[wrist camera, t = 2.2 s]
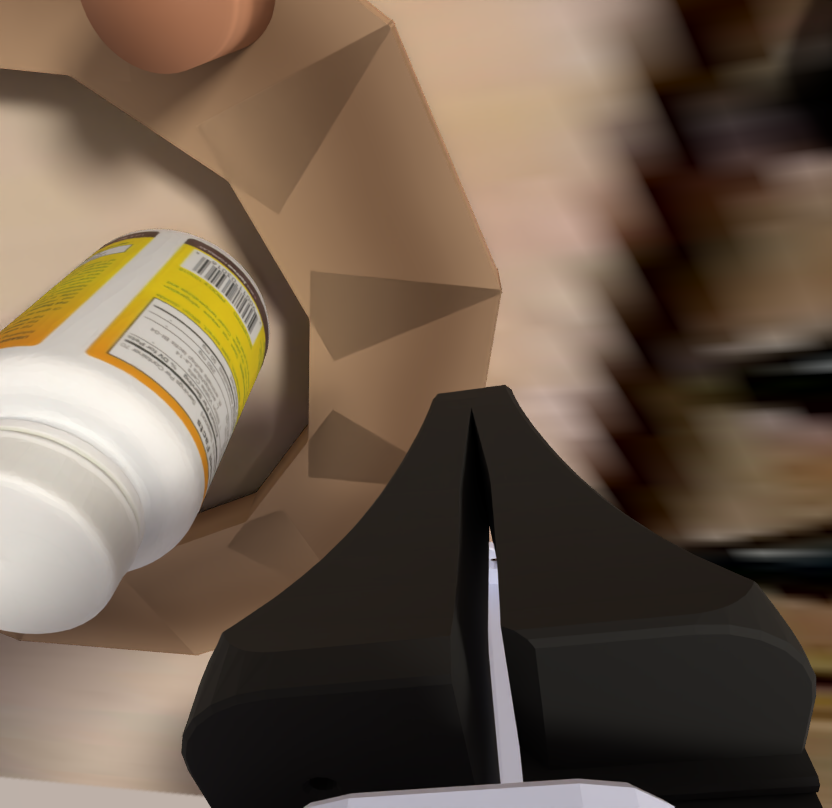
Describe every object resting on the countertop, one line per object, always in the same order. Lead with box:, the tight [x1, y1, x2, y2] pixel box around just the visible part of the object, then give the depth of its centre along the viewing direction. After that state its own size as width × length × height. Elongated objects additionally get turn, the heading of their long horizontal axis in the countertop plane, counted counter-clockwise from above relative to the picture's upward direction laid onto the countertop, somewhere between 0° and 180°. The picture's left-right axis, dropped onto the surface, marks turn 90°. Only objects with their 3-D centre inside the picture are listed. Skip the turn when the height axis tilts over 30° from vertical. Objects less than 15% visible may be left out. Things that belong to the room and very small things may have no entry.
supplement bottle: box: [0, 229, 270, 634], centre depth 16 cm, size 6×6×10 cm
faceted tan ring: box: [0, 0, 502, 655], centre depth 18 cm, size 25×25×6 cm
